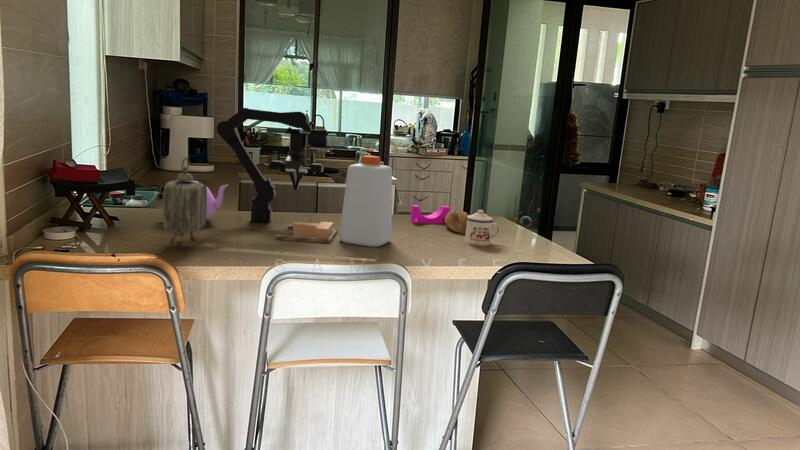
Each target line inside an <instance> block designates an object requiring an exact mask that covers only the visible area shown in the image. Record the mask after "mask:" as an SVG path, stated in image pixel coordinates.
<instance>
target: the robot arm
mask: <svg viewBox="0 0 800 450" xmlns="http://www.w3.org/2000/svg"><path fill="white" fill-rule="evenodd" d="M247 120H253V121H261V122H270V123H279V124H282V125H285V126H288V128H287V129H286V130H285V131H284V134H287V135H289V148H288V149H289V151H288V155H287V156H286V158H285V162H284V160H271V161H270V162H269V166H268V169H269V170H279V169H285V171H284V173H286V174H288V175H289V178H290V180H291V183H292V187H293V189H294V190H293V191H296V192H297V191H298V189H299V187H300V184H301V182H302V179H303V178H304V176H305V175H306V174H308V172H309V171H310V172H311V173H317V174H318V173H319V174H322V173H323V172H324V170H325V169H324V164H323V163H317V162H316V163H310V164H307V156H306V149H307V146H310V149H319V150H321V149H323V150H327V146H328V144H327V143H328V138H327V132H328V131H327V129H312V128H311V126H310V124H309V123H308V117H307V115H306V114H305V113H304V112H303V111H287V112H285V111H284V112H278V111H269V110H261V109H253V108H249V107H242V108H241V109H240V110H239V111H238V112H236V113H235V114H233V115H232V116H231V117H230V118H228V119H227V120H223V121H220V122H219V123H218V124H217V126H216V132H217V134H218V136H220V137H221V139H223V141H224V142H225V143H226V144H227V145H228V146H229V147H231V149H232V151H233V152H234V153H235V156H236V157H237V158H238V160H239V162H240V163H241V164H242V166H243V169H244V170H245V171H246V173H247V174H248V177H250V179H251V181H252V183H253V186H254V189H255V191H256V195H255V196H254V197H253V199H252V200H251V203H252V204H251V206H250V207H251V209H250V210H251V211H250V220H249V223H254V224H255V223H256V224H269V223H270V222H272V217H273V216H272V215H273V209H272V208H271V204H269V203H271V202H272V201H273V200H274V198H275V197H276V194H277V191H276V185H274V184H273V181H272V178H271V177H268V178H267V179H266V177H265V176H264V175H263V174H262V173H261V171H260V169H259V168H258V166H257V165H256V163H255V161H254V160H253V158H252V156H251V155H250V153H249V151H248V150H247V148H246V147H245V145H244V143H243V142H242V140H241V136H240V133H239V131H238V128H239V127H240V126H242V125H243V124H244V123H245V122H247ZM294 128H296V129H294ZM301 130H303V131H304V132H301ZM306 132H307V133H306ZM297 170H298V171H297Z"/></svg>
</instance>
